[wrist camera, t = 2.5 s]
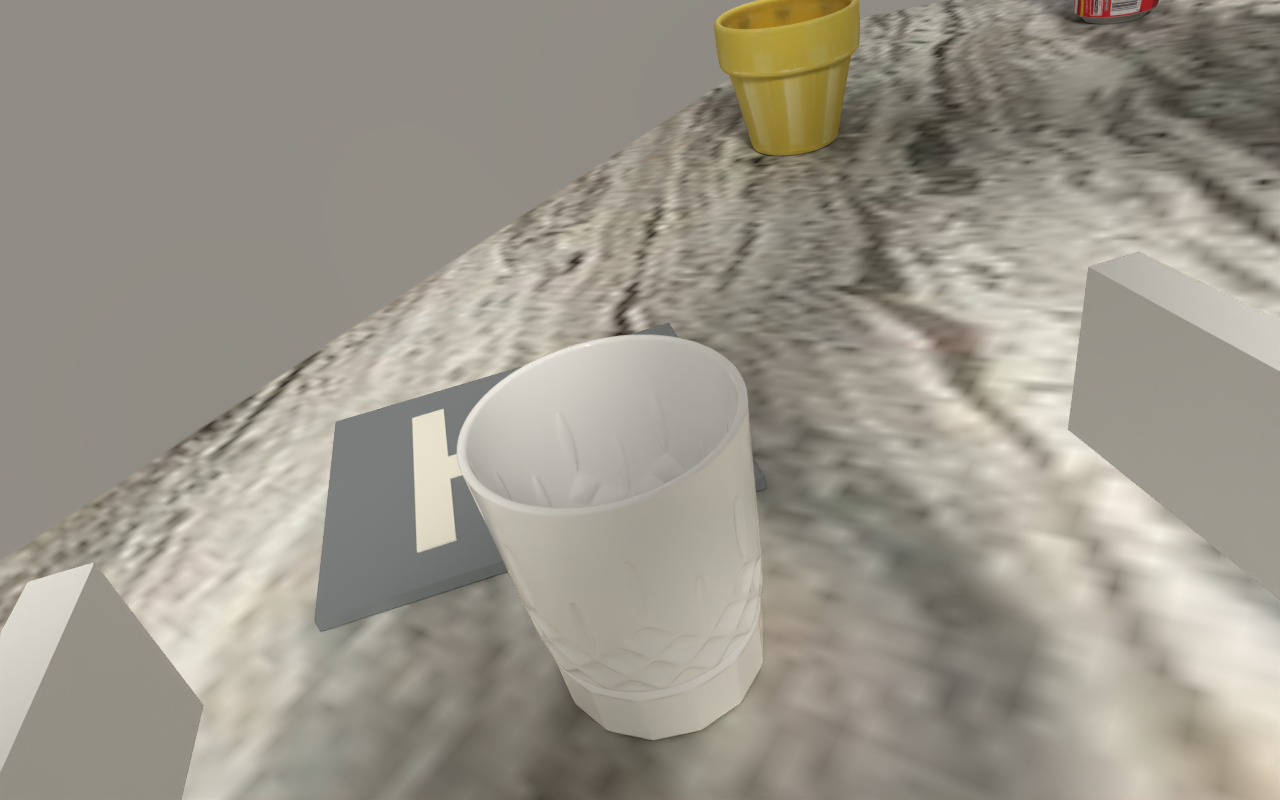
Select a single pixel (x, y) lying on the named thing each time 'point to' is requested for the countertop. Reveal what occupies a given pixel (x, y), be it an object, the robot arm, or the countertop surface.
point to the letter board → (407, 507)
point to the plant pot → (789, 69)
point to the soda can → (1112, 10)
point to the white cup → (628, 524)
